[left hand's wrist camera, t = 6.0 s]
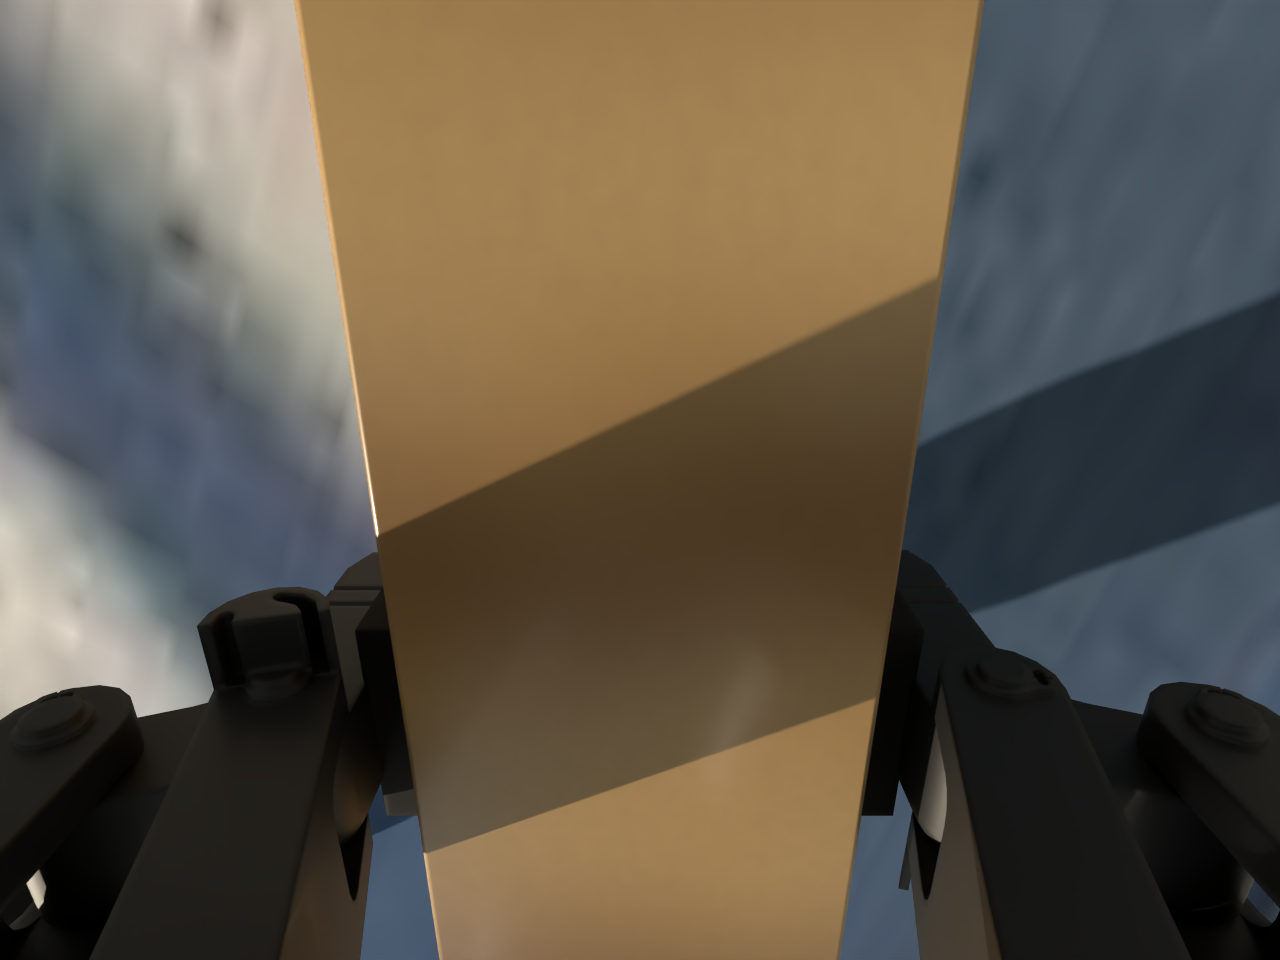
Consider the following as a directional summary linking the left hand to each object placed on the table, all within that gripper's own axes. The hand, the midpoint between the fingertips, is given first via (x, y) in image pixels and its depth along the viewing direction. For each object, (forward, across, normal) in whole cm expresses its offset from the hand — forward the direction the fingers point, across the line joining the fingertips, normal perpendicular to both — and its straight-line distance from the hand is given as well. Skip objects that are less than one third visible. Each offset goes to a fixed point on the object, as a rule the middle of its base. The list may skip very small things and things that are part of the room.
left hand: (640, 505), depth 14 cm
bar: (+1, 0, -9) cm, 9 cm away
